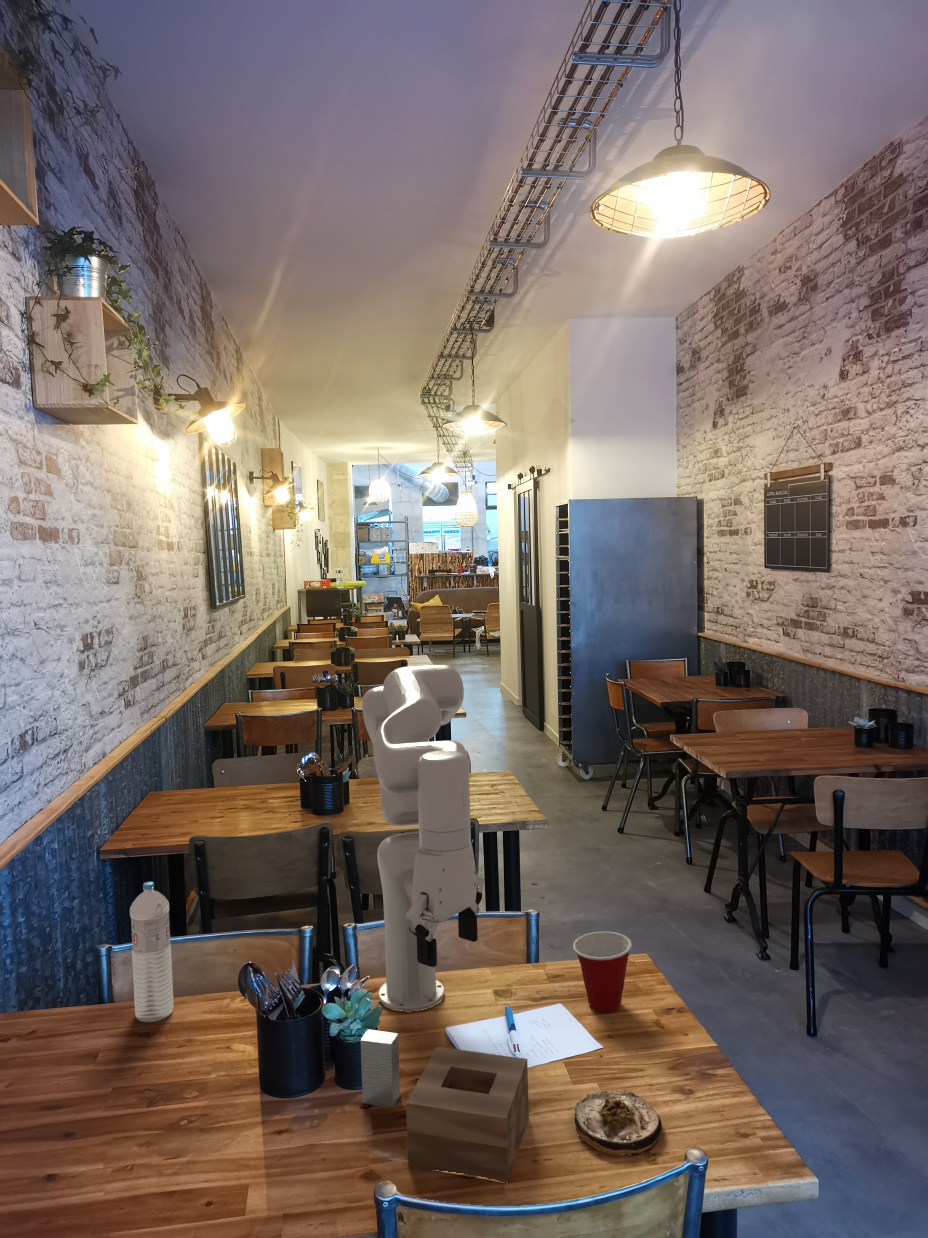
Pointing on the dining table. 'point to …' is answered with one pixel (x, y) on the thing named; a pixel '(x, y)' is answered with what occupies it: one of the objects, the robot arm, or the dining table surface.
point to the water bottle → (151, 955)
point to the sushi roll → (617, 1123)
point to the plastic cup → (603, 968)
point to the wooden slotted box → (468, 1113)
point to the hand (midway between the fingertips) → (448, 951)
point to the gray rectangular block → (380, 1068)
